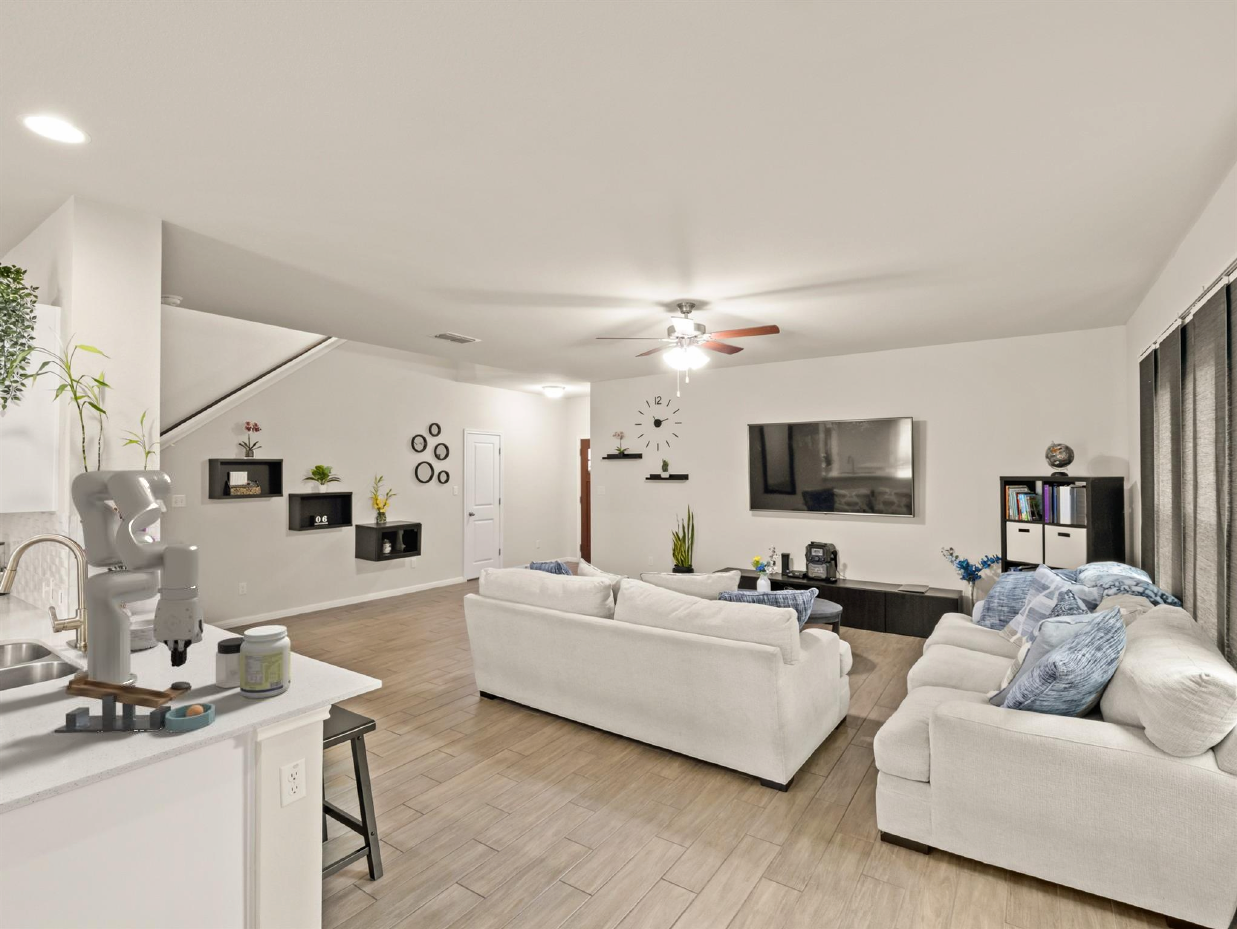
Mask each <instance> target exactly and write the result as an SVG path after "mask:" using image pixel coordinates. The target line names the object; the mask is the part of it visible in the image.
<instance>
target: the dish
mask: <svg viewBox="0 0 1237 929" xmlns="http://www.w3.org/2000/svg"><path fill="white" fill-rule="evenodd" d="M193 705H200V706H201V707H202V708H203V714H200V715H197V716H192V717H186V712H187V710H188V709H189V708H190V707H191V706H193ZM214 722H216V707H215V704H212V703H209V702H197V703H196V702H195V703H192V704H186V705H185V704H184V705H181V706H178V707H175V708H171V711H169V712H167V713H166V726H165V731H167V730H168V732H170V731H172V732H171V733H185V732H190V731H196V730H199V729H203V728H205V727H208V726H209V725H211V724H213V723H214Z"/></svg>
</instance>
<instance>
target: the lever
mask: <svg viewBox="0 0 1237 929" xmlns="http://www.w3.org/2000/svg"><path fill="white" fill-rule="evenodd" d="M88 677H89V674H86V673H85V674H83V675H81V676H79V677H76V678H74V677H73V678H72V679H69V680H68V684H67V685H66V689H65V694H66V695H71V696H76V697H82V698H88V699H89V698H90V699H94V700H101V701H102V696H105V695H116V703H119V704H122V703H124V704H131V705H136V706H138V707H144V708H150V709H154V710H155V709H157V708H159V707H161V706H165V705H166V704H168V703H169V702H172V701H175V700H176V699H178V698H179V697H181V696H182V695H185V694H186V693H188V692H190V691H191V690H192V685H191V683H190V682H188V681H176V682H173V683H171V685H170V687H168V688H167V689H165V690H157V689H150V688H147V687H145V688H144V687H140V686H135V687H134V686H128V685H122V684H116V683H110V682H104V681H98V680H92V679H88Z"/></svg>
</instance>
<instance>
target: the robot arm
mask: <svg viewBox="0 0 1237 929" xmlns="http://www.w3.org/2000/svg"><path fill="white" fill-rule="evenodd" d="M70 490H71V491H70V492H71V498H72V502H73V504H74V507H75V509H76V511H77V514H78V515H79V517H80V521H81V526H82V533H83V535H82V536H83V545H84V552H85V558H86V561H87V563H88V565H89V566H91V567H93V568H98V569H99V568H109V567H118V566H119V567H120V566H125V568H126V569H119V570H113V571H105V572H104V571H103V572H99V573H96V574H93V575H92V576H89V577H88V578H87V579H86V580H85V581H84V582H83V584H82V595H83V600H84V605H85V611H86V626H87V627H86V628H87V629H86V632H87V633H86V634H87V635H86V636H87V638H86V639H87V642H86V643H87V646H86V647H87V649H86V650H87V653H86V654H87V655H86V656H87V657H86V659H87V663H86V664H87V666H86V667H87V669H78V670H76V672H75V674H74V675H73V679H74V678H76V677H79V676H81V675H83V674H85V673H86V674H89V677H88V679H92V680H98V681H104V682H110V683H116V684H122V685H133V684H134V683H136V682H137V681H138V675H137V674H136V673H134V672H133V673H131V669H132V668H131V663H132V662H131V659H132V658H131V657H132V656H131V650H130V622H131V618H130V616H129V614H128V613H126V612H125V610H123V608H121V605H124V604H129V603H136V602H142V601H147V600H151V599H154V597H156V596H157V595H158V594H160V595H161V598H159V599H158V601H157V604H156V607H155V612H154V618H153V619H154V625H153V637H154V638H156V641H157V642H160V643H159V644H164V645H166V646H167V650H168V651H169V652H170V663H171V667H172V668H175V667H176V668H180V667H181V666H183V665H184V664H186V661H187V660H188V648H190V647H191V646H192V645H194V644H198V643H200V642H202V641H203V636H202V634H203V632H204V625H205V624H204V609H203V604H202V599H201V597H199V569H200V568H199V567H200V566H199V562H200V561H199V560H200V557H199V556H200V550H199V547H198V545H196V544H194V543H188V542H186V541H185V540H182V539H167V540H166V539H165V540H154V539H153V537H152V536H151V535H150V534H149V533H148V532H146V531H143V530H144V529H146V528H149V527H150V526H152V525H154V524H155V523H156V522H157V521H159V519H160V518H161V517H162V514H163V510H162V507H161V505H160V503H159V502H158V501H159V500H166V499H167V498H168V497H170V496H171V493H172V491H173V483H172V480H171V478H170V476H169V475H168V473H166V472H164V471H162V470H160V469H146V470H145V469H141V470H140V469H138V470H135V469H133V470H131V469H130V470H127V469H126V470H125V469H124V470H113V469H111V470H108V469H107V470H91V471H86V472H82V473H80V474H78V475H76V476H75V477H74V478H73V480H72V484H71V489H70ZM105 501H106V502H105ZM107 501H113V503H114V505H115V507H116V509H117V510H118V512H119V513H118V512H117V510H115V509H114V507H113V506H111V505H110V504H108V502H107ZM120 516H121V517H122V519H123V520H122V522H121V517H120ZM159 571H162V580H161V581H162V585H160V584H161V582H160V572H159Z"/></svg>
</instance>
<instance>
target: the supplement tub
mask: <svg viewBox="0 0 1237 929" xmlns="http://www.w3.org/2000/svg"><path fill="white" fill-rule="evenodd" d="M287 635H288V631H287V627H286V626H285V625H277V624H275V625H273V624H272V625H270V624H269V625H262V626H256V627H252V628H249V629H247V630H245V631H244V632H243V636H242V637H243V639H244V640H245V641H244V642H243V643H242V644H241V647H240V686H239V687H240V688H239V693H240V694H241V696H242V697H245V698H249V699H266V698H270V697H271V698H272V697H275V696H277V695H281V694H282V693H284V692H286V691H288V689H290V687H291V682H292V681H291V645H292V643H291V640H290V638H289V637H288V636H287Z"/></svg>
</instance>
